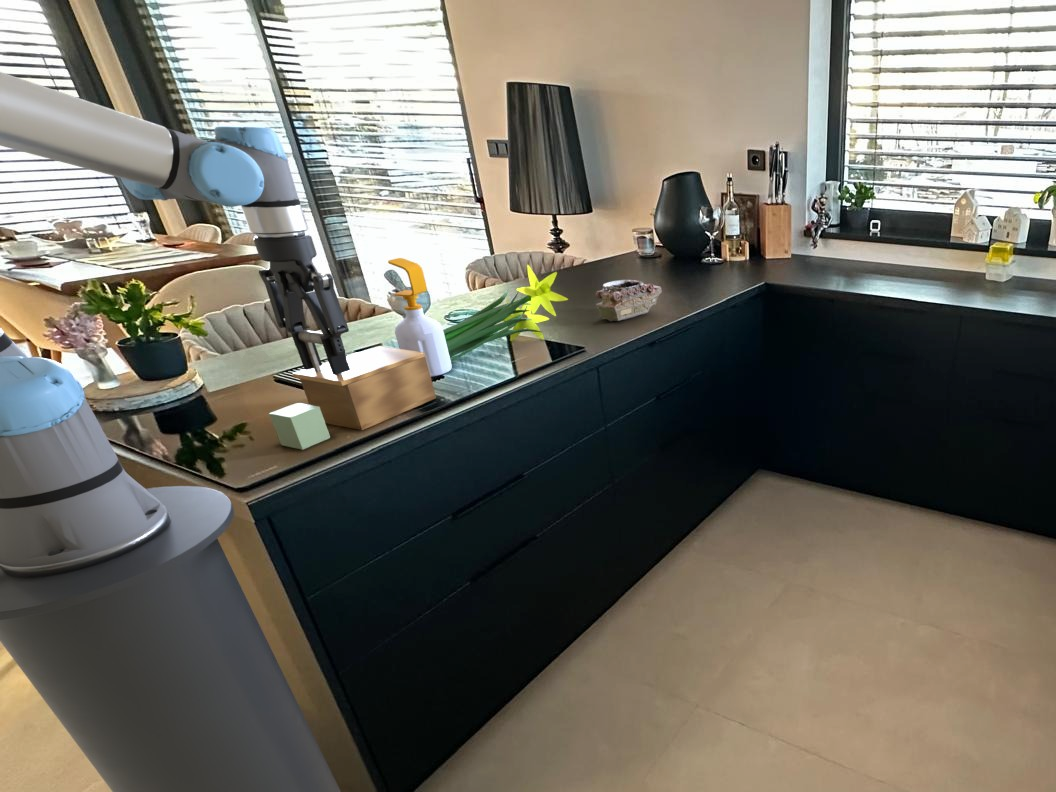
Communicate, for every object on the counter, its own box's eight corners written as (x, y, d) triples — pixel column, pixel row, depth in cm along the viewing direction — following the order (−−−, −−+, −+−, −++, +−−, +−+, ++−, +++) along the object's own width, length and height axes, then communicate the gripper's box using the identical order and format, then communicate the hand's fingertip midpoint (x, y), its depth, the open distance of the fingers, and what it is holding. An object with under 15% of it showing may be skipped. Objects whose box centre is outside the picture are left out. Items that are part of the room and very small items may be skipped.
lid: (342, 386, 108) (326, 339, 104) (293, 377, 111) (276, 332, 107) (425, 356, 123) (414, 314, 119) (380, 349, 126) (368, 308, 122)
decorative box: (587, 316, 185) (582, 283, 180) (643, 305, 198) (640, 274, 194) (613, 325, 177) (609, 290, 173) (669, 312, 191) (666, 280, 186)
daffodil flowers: (421, 354, 153) (543, 295, 172) (457, 394, 151) (578, 329, 169) (402, 308, 139) (538, 249, 157) (442, 351, 137) (576, 285, 155)
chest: (362, 430, 113) (347, 384, 109) (315, 421, 116) (298, 376, 112) (436, 398, 127) (425, 356, 123) (392, 390, 130) (380, 349, 126)
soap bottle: (424, 363, 145) (395, 254, 134) (460, 366, 144) (434, 256, 133) (397, 376, 137) (364, 262, 126) (435, 379, 136) (405, 264, 125)
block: (302, 449, 105) (290, 417, 103) (281, 445, 107) (268, 413, 104) (330, 437, 110) (319, 406, 107) (309, 433, 111) (298, 402, 108)
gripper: (347, 234, 101) (387, 369, 111) (263, 227, 106) (308, 357, 116) (301, 240, 94) (348, 383, 105) (214, 232, 100) (267, 369, 110)
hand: (327, 369), depth 111 cm, fingers closed on lid, 6 cm apart
